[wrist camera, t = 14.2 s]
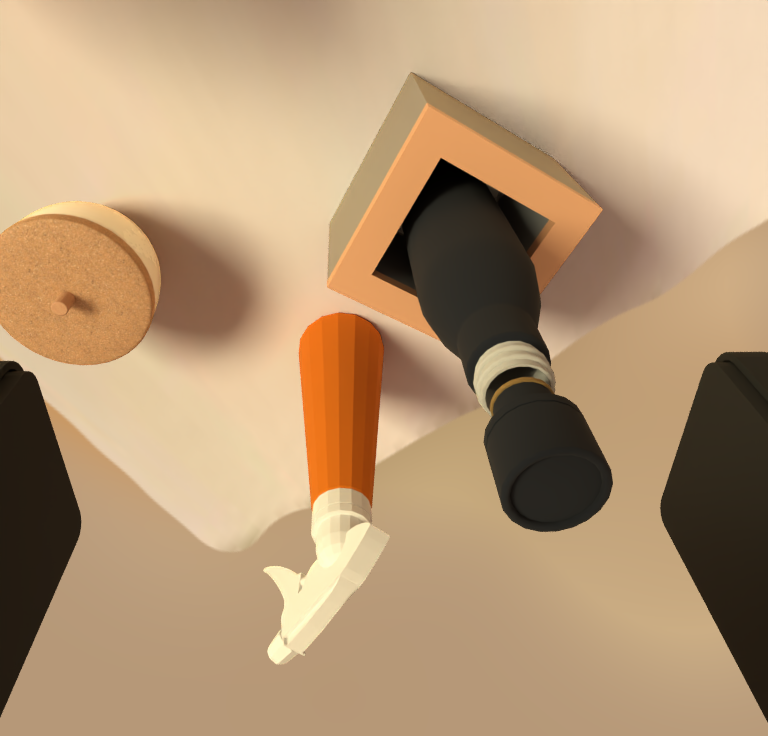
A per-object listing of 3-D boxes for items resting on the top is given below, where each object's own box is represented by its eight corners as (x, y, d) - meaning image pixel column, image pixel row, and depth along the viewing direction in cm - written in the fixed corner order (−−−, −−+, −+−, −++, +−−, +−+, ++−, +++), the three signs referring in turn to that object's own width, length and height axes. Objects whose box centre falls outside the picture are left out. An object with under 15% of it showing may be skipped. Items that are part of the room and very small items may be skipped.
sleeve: (410, 71, 45) (428, 106, 36) (553, 158, 49) (603, 209, 40) (329, 223, 51) (327, 287, 41) (463, 291, 54) (488, 363, 45)
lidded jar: (103, 151, 47) (54, 194, 39) (205, 269, 52) (181, 328, 44) (-5, 232, 50) (-70, 288, 42) (102, 337, 55) (62, 404, 47)
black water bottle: (427, 139, 46) (535, 387, 20) (505, 183, 48) (692, 459, 22) (381, 220, 49) (428, 525, 23) (457, 258, 51) (575, 578, 25)
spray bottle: (254, 380, 58) (200, 656, 36) (336, 294, 54) (333, 544, 32) (318, 423, 61) (306, 704, 38) (401, 344, 57) (440, 606, 34)
